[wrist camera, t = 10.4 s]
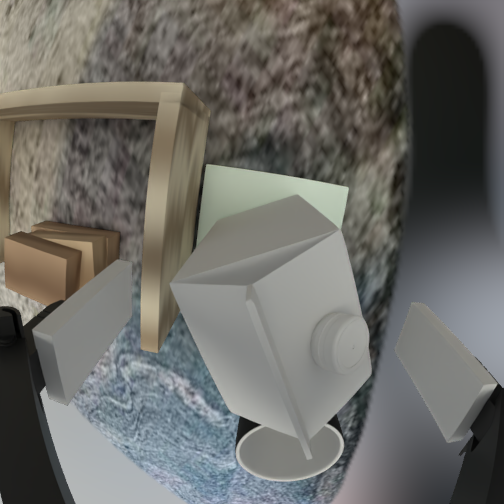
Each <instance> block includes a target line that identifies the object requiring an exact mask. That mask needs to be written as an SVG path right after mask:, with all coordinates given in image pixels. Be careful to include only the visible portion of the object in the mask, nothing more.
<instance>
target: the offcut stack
mask: <svg viewBox="0 0 504 504" xmlns="http://www.w3.org/2000/svg"><path fill="white" fill-rule="evenodd" d="M119 243H120V232H115V231H109V230H102V229H96V228H89V227H82V226H76V225H69V224H63V223H56V222H50V221H44V222H41V223H39V224H36V225H33V226H31V233H25V232H22V231H21V232H18V233H15V234H13V235H10V236H7V237H5V245H4V254H5V285H6V288H8V289H10V290H12V291H15V292H17V293H19V294H21V295H23V296H26V297H28V298H30V299H33V300H35V301H37V302H40V303H42V304H44V305H47V306H49V305H50V304H52V303H54V302H57V301H59V300H65V301H66V300H67V299H68V298H70V297H71V296H72V295H73V294H74V293H76V292H77V291H78V290H79V289H80V288H82V287H83V286H84V285H85V284H87V283H88V282H89V281H90V280H92V279H93V278H94V277H95V276H97V275H98V274H99V273H100V272H102V271H103V270H104V269H105V268H107V267H108V266H109V265H111V264H112V263H113V262H114V261H116V260H117V259H118V260H119Z"/></svg>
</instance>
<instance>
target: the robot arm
mask: <svg viewBox="0 0 504 504" xmlns="http://www.w3.org/2000/svg"><path fill="white" fill-rule="evenodd" d="M131 317H132V262H130V261H124V260H118V259H117V260H116V261H114V262H113V263H112V264H111V265H109V266H108V267H107V268H105V269H104V270H103V271H102V272H100V273H99V274H98V275H97V276H95V277H94V278H93V279H92V280H90V281H89V282H88V283H87V284H85V285H84V286H83V287H82V288H80V289H79V290H78V291H77V292H76V293H74V294H73V295H72V296H71V297H70V298H68V299H67V300H66V301H65V300H59V301H57V302H54V303H52V304H50V305H49V306H47V307H46V308H45V309H44V310H43V312H42V311H41V312H40V313H39V314H38V315H37V317H36V316H35V317H34V318H33V319H32V320H30V321H29V322H28V323H27V324H26V325H24V326H23V324H22V319H21V314H20V312H19V310H17V309H16V308H13V307H9V306H2V307H0V493H1V498H2V501H3V504H75V502H74V499H73V497H72V494H71V492H70V489H69V487H68V484H67V482H66V479H65V476H64V474H63V471H62V468H61V465H60V462H59V459H58V456H57V453H56V450H55V447H54V444H53V441H52V437H51V434H50V430H49V426H48V423H47V419H46V415H45V411H44V407H43V403H42V399H41V396H40V392H41V391H42V389H43V388H44V387H45V386H46V390H47V393H48V397H49V399H51V400H54V401H57V402H59V403H62V404H64V405H67V406H68V405H69V403H70V402H71V400H72V399H73V397H74V396H75V394H76V393H77V391H78V390H79V389H80V387H81V386H82V384H83V383H84V381H85V380H86V378H87V377H88V376H89V374H90V373H91V371H92V370H93V369H94V367H95V366H96V364H97V363H98V362H99V360H100V359H101V357H102V356H103V355H104V353H105V352H106V350H107V349H108V348H109V346H110V345H111V344H112V342H113V341H114V339H115V338H116V337H117V335H118V334H119V333H120V331H121V330H122V329H123V327H124V326H125V325H126V323H127V322H128V321H129V319H130V318H131ZM394 351H395V353H396V354H397V356H398V358H399V359H400V361H401V363H402V364H403V366H404V368H405V369H406V371H407V373H408V374H409V376H410V378H411V379H412V381H413V383H414V384H415V386H416V388H417V389H418V391H419V393H420V394H421V396H422V398H423V400H424V402H425V403H426V405H427V407H428V409H429V410H430V412H431V414H432V416H433V417H434V419H435V421H436V423H437V425H438V427H439V428H440V430H441V432H442V434H443V436H444V438H445V439H446V441H447V443H449V442H454V441H460V440H462V439H463V438H464V436H465V435H466V433H467V432H468V430H469V429H471V431H472V432H473V436H472V437H471V438H470V440H469V441H468V443H467V444H466V445H465V447H464V448H463V449H462V451H461V452H460V454H459V455H460V456H461V455H462V454H463V453H464V452H466V453H465V456H464V461H463V464H462V468H461V471H460V474H459V477H458V480H457V483H456V486H455V489H454V492H453V495H452V498H451V500H450V503H449V504H504V388H502V387H501V385H500V384H499V383H498V382H497V381H496V379H495V378H494V377H493V376H492V375H491V374H490V373H489V372H488V371H487V369H486V368H485V367H484V366H483V365H482V363H481V362H480V361H479V360H478V359H477V358H476V357H474V356H473V355H472V354H471V352H470V351H469V350H468V349H467V348H466V347H465V346H464V345H463V344H462V342H461V341H460V340H459V339H458V338H457V337H456V336H455V335H454V334H453V333H452V332H451V331H450V330H449V329H448V328H447V326H446V325H445V324H444V323H443V322H442V321H441V320H440V319H439V318H438V317H437V316H436V315H435V314H434V313H433V312H432V311H431V310H430V309H429V308H428V307H427V306H426V305H425V304H423V303H415V302H412V303H411V306H410V309H409V312H408V315H407V317H406V320H405V323H404V326H403V329H402V331H401V334H400V336H399V339H398V342H397V344H396V347H395V349H394Z"/></svg>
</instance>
